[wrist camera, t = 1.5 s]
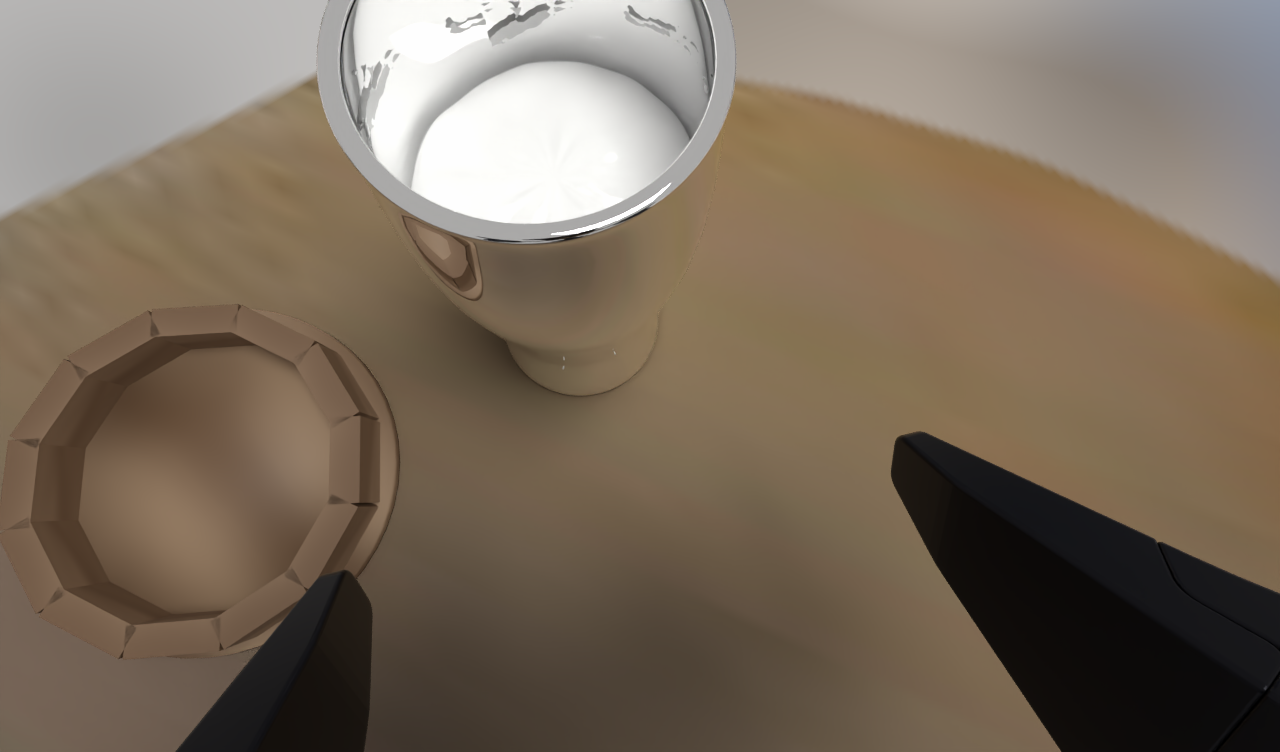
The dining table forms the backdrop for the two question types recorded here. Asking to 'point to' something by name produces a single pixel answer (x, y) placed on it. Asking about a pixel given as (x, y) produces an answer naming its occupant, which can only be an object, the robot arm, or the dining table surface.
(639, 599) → the dining table surface
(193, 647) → the faceted bowl
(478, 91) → the beer glass
